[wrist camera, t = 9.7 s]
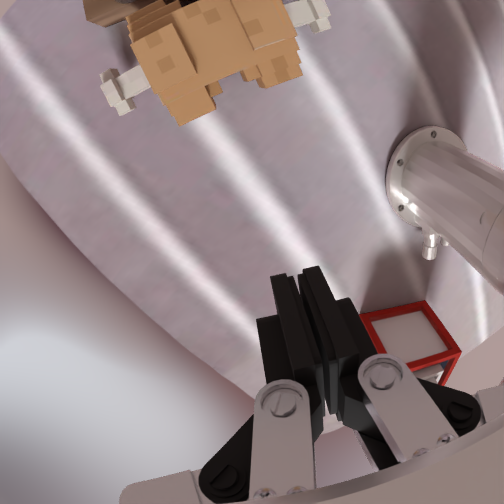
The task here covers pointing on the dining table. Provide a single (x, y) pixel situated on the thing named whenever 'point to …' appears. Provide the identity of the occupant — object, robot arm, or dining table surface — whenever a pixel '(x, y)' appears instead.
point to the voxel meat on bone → (210, 50)
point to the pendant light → (414, 339)
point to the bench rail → (114, 10)
